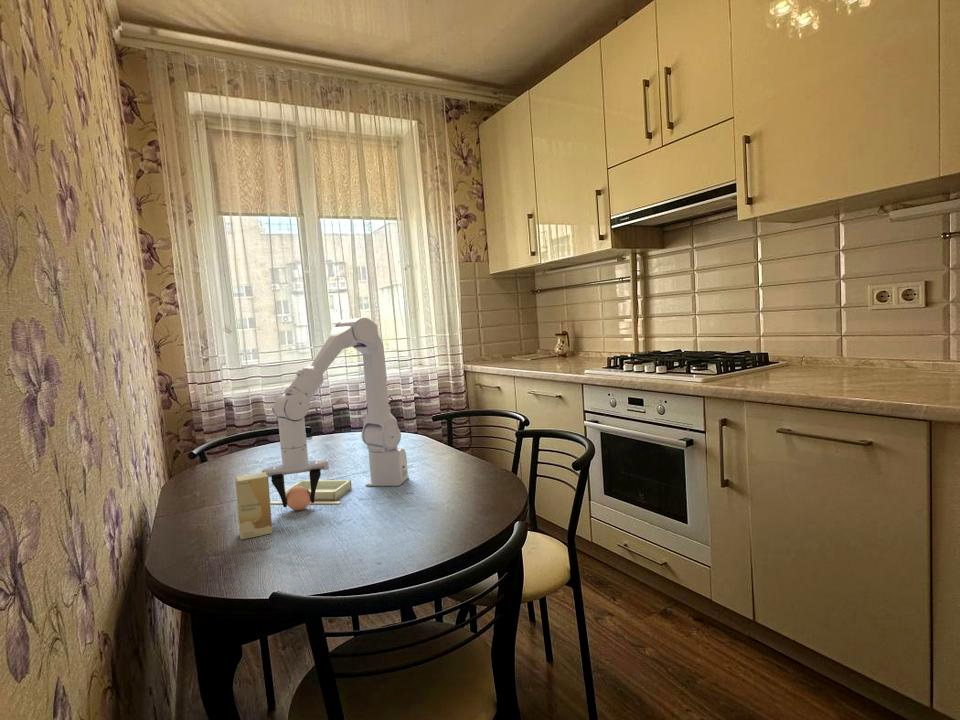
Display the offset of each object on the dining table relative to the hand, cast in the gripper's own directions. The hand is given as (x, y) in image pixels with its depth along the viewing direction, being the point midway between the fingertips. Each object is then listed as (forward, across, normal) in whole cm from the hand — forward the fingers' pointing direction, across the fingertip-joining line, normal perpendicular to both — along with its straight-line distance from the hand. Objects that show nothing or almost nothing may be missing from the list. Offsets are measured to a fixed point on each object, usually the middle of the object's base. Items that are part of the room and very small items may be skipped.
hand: (299, 503), depth 127 cm
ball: (-1, 0, 0) cm, 1 cm away
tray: (+1, -4, -10) cm, 11 cm away
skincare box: (+2, +8, +11) cm, 14 cm away
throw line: (+1, -1, -4) cm, 5 cm away
